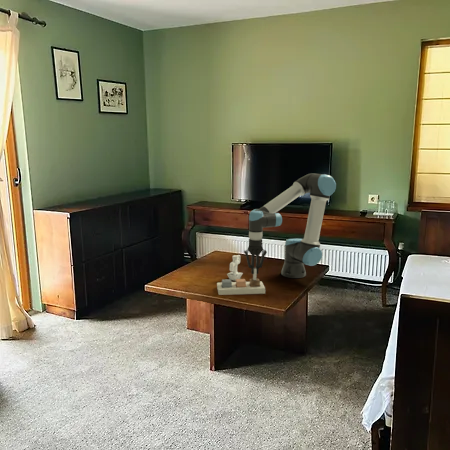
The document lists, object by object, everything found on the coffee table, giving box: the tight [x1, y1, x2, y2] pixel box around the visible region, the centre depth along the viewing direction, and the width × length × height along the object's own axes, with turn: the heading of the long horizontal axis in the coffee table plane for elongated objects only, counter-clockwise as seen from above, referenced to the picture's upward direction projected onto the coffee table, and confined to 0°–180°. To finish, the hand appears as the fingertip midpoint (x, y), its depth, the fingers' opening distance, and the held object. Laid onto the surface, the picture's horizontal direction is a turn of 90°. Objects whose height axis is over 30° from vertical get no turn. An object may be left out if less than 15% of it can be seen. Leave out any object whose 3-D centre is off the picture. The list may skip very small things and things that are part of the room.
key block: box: [216, 281, 266, 296], centre depth 251 cm, size 26×12×3 cm, turn 95°
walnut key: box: [249, 278, 260, 287], centre depth 252 cm, size 5×5×4 cm
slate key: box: [221, 278, 233, 288], centre depth 250 cm, size 5×5×4 cm
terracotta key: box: [235, 278, 247, 287], centre depth 251 cm, size 5×5×4 cm
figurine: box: [226, 254, 244, 282], centre depth 270 cm, size 7×9×15 cm
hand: (254, 279), depth 251 cm, fingers closed
